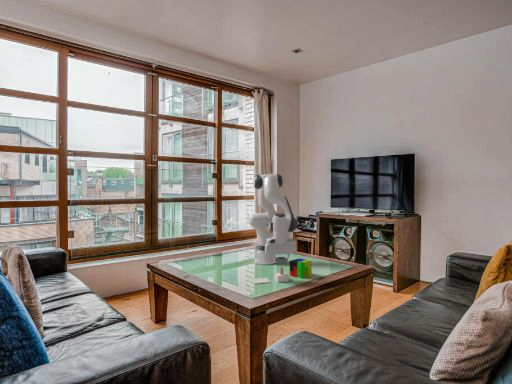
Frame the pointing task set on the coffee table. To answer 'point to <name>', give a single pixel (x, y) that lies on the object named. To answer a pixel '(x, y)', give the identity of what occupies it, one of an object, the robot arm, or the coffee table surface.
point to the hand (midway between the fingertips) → (281, 261)
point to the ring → (281, 259)
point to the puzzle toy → (300, 268)
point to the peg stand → (281, 276)
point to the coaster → (260, 280)
